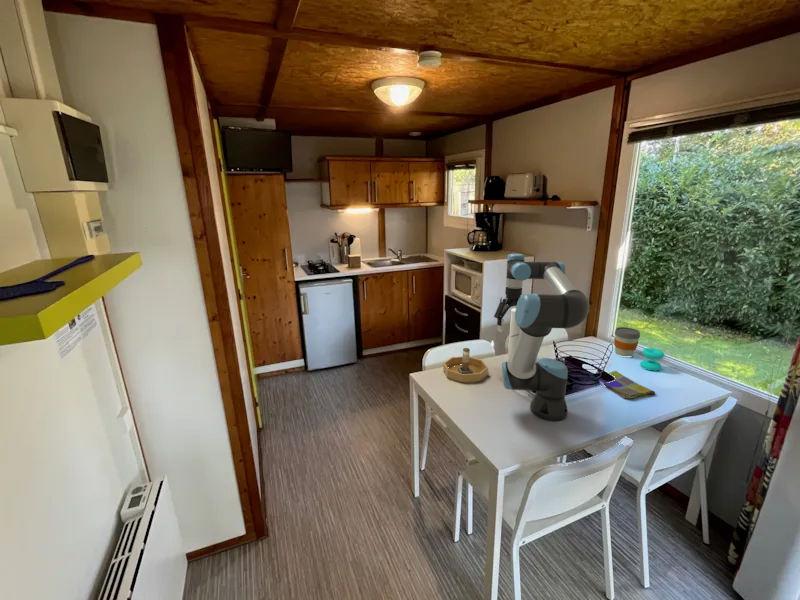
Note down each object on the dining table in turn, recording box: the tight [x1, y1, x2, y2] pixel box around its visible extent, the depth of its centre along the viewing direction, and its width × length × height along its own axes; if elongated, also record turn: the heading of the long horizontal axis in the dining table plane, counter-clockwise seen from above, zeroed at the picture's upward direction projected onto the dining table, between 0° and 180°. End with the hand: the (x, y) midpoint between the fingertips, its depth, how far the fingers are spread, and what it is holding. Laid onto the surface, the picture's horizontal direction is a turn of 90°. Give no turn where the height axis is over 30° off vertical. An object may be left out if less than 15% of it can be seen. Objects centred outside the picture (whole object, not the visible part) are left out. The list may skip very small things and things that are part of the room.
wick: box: [462, 347, 471, 372], centre depth 198 cm, size 3×3×13 cm
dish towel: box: [602, 370, 656, 400], centre depth 184 cm, size 18×24×3 cm
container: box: [507, 307, 521, 361], centre depth 210 cm, size 9×9×30 cm
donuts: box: [639, 347, 665, 372], centre depth 202 cm, size 10×10×10 cm
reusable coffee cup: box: [613, 326, 641, 356], centre depth 218 cm, size 13×13×15 cm
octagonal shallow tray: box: [442, 356, 489, 384], centre depth 199 cm, size 22×22×5 cm
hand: (511, 329), depth 182 cm, fingers open, 13 cm apart
